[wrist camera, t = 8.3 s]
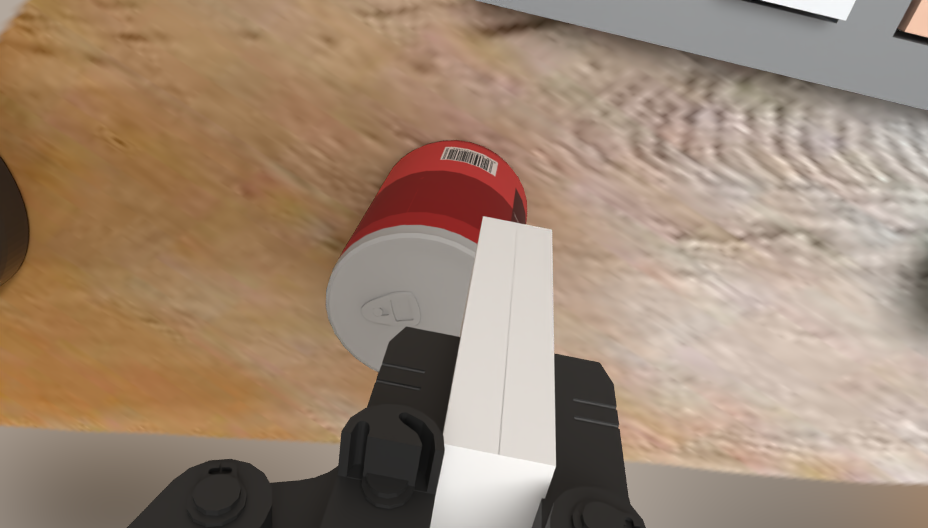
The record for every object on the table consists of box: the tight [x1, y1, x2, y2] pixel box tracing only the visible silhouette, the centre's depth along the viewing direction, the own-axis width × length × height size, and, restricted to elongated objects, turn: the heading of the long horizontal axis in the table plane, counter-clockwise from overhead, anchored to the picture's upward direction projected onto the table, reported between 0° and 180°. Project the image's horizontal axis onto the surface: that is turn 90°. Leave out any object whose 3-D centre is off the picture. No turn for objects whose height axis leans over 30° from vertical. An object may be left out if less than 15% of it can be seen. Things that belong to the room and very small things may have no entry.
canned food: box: [326, 140, 527, 372], centre depth 32 cm, size 8×8×11 cm
